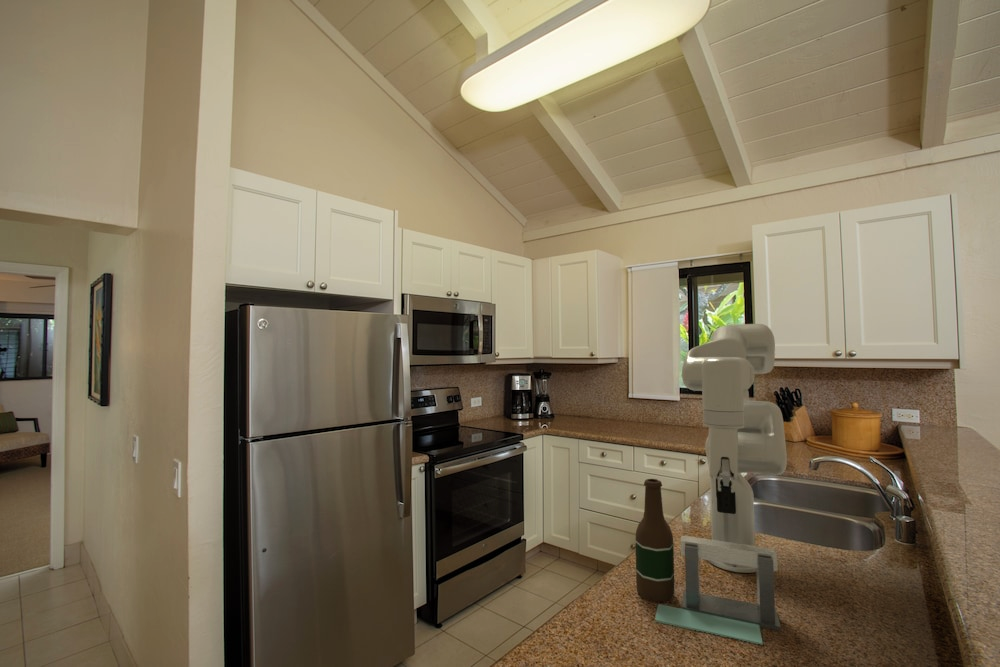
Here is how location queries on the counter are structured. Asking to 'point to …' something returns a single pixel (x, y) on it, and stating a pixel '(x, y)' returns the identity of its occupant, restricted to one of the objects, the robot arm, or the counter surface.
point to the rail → (729, 552)
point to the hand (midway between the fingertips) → (725, 505)
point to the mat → (709, 623)
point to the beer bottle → (654, 549)
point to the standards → (731, 608)
